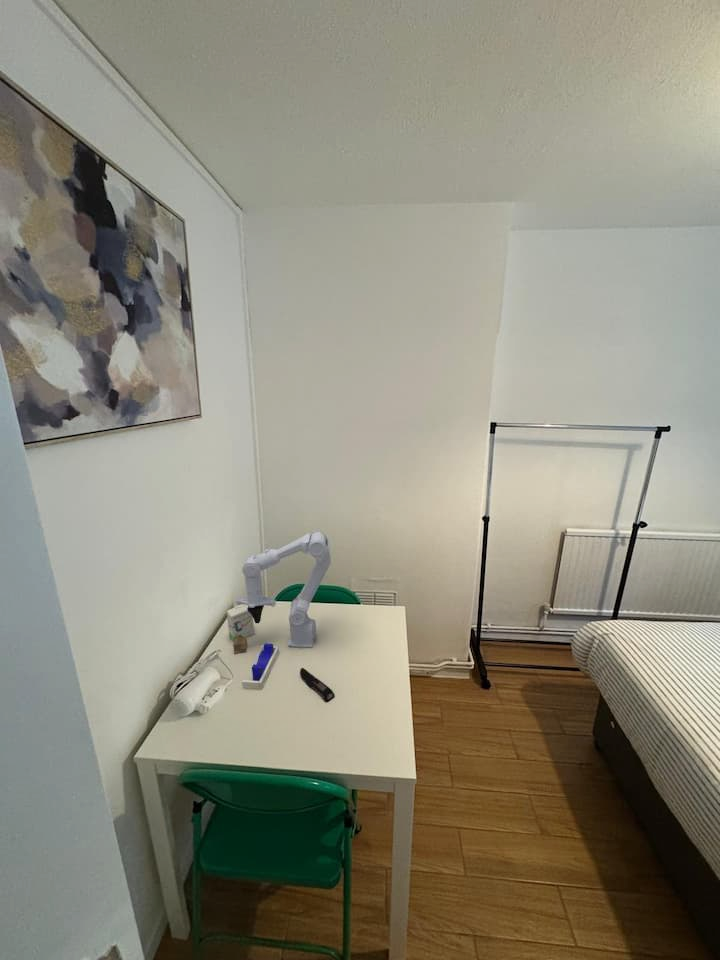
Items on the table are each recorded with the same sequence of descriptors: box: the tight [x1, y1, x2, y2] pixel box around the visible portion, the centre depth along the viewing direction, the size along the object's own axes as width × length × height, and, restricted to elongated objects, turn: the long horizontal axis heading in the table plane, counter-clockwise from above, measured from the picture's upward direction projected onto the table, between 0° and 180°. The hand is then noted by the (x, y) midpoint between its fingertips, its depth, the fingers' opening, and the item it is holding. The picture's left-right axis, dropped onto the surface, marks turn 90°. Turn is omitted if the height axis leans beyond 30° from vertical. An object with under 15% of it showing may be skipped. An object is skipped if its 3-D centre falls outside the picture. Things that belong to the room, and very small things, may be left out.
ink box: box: [226, 604, 256, 643], centre depth 147 cm, size 9×5×12 cm, turn 129°
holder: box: [241, 645, 280, 690], centre depth 130 cm, size 6×18×2 cm, turn 173°
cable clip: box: [251, 642, 274, 681], centre depth 129 cm, size 12×4×6 cm, turn 173°
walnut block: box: [232, 637, 248, 655], centre depth 140 cm, size 4×4×4 cm
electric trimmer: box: [299, 667, 336, 703], centre depth 121 cm, size 4×16×3 cm, turn 43°
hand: (257, 621), depth 141 cm, fingers closed
